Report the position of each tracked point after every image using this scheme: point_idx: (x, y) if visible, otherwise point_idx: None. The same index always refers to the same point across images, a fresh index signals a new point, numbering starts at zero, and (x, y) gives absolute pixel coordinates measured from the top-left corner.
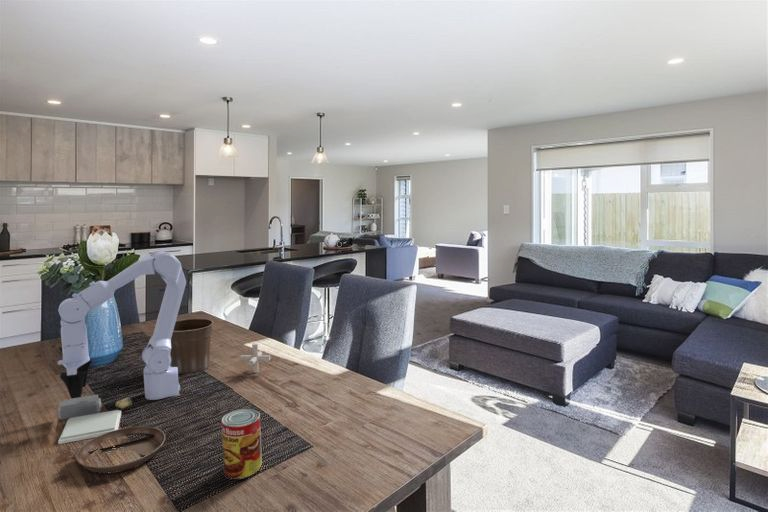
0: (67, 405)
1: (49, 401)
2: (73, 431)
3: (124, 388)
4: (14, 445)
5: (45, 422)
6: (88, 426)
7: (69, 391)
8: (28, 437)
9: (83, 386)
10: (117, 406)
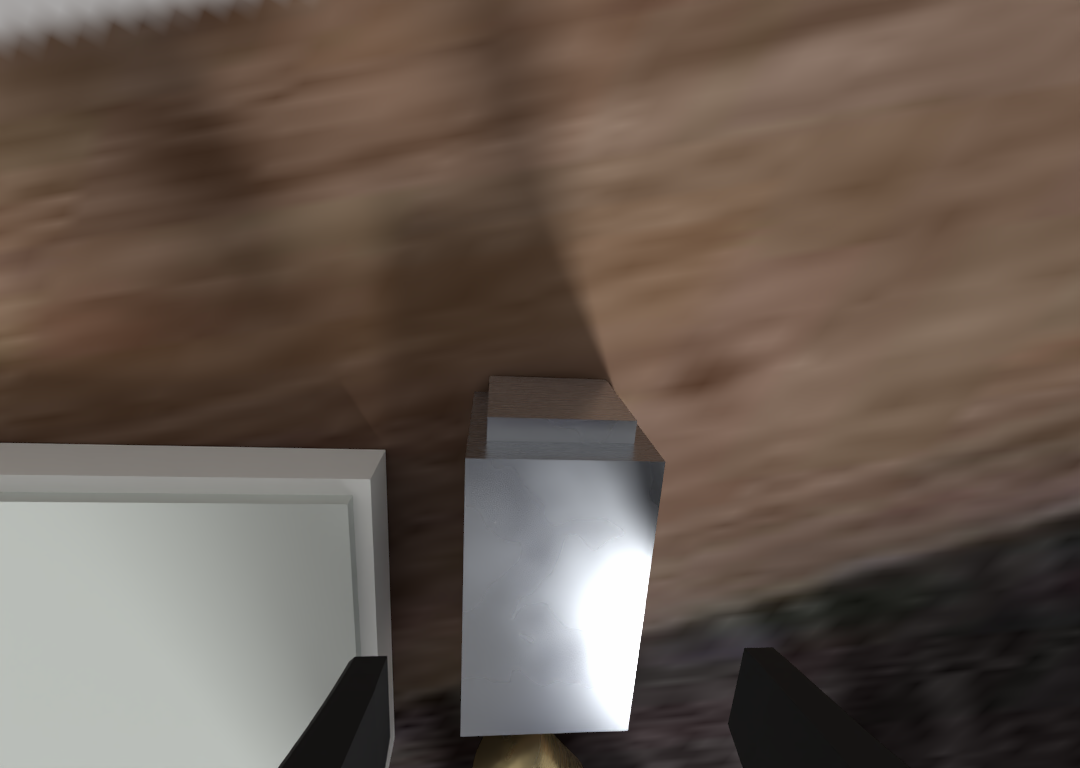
0: (464, 522)
1: (1075, 222)
2: (10, 573)
3: (934, 700)
4: (164, 77)
5: (581, 262)
6: (88, 659)
7: (288, 761)
8: (303, 172)
9: (733, 717)
10: (519, 743)
